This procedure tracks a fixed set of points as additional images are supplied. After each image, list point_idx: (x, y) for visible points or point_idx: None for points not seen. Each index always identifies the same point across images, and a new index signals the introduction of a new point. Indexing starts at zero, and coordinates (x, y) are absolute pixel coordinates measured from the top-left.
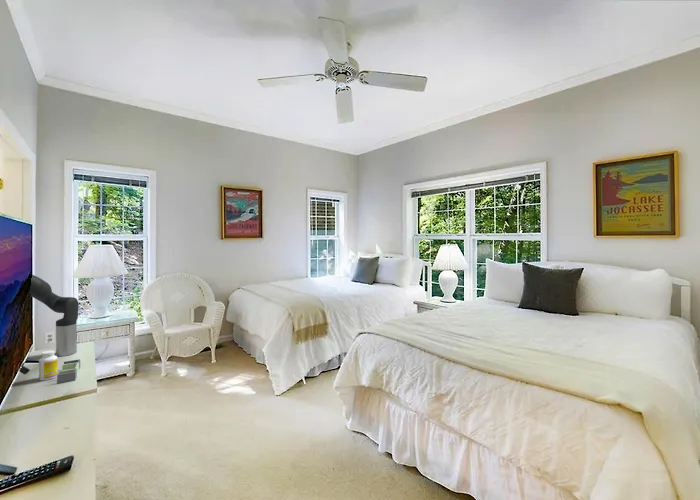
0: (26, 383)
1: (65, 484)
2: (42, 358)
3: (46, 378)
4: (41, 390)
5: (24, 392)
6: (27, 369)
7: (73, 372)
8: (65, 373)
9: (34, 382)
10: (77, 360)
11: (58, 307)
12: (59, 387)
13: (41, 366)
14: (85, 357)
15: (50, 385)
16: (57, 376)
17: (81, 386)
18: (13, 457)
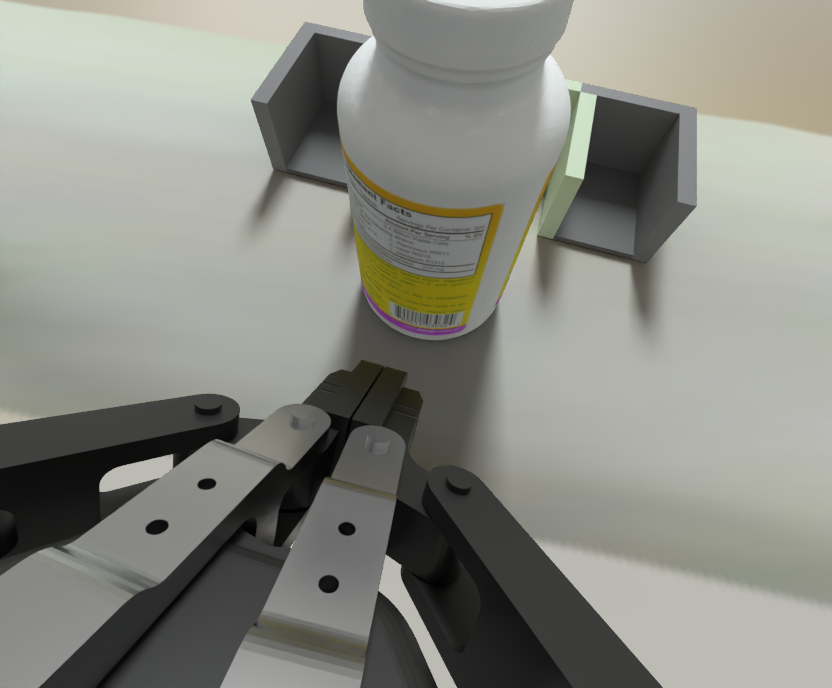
0: (442, 444)
1: None
2: (499, 123)
3: (502, 293)
4: (759, 372)
5: (734, 491)
6: (398, 380)
7: (695, 116)
8: (685, 156)
9: (469, 385)
10: (312, 41)
11: None
12: (757, 267)
13: (506, 235)
14: (92, 33)
15: (660, 303)
16: (685, 215)
17: (817, 173)
18: None
